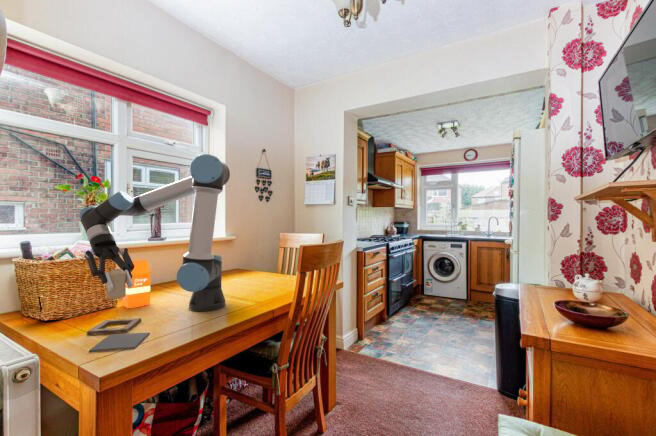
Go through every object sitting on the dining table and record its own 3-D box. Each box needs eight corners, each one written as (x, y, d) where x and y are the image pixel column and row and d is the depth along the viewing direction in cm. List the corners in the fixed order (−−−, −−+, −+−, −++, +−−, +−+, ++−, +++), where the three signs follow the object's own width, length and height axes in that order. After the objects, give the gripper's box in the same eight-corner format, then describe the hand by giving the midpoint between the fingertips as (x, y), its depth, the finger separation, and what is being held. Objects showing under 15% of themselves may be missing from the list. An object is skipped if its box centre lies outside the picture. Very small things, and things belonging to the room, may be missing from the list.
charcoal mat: (149, 334, 102) (149, 332, 102) (134, 348, 90) (134, 346, 90) (109, 336, 100) (109, 334, 100) (88, 352, 88) (89, 350, 88)
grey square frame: (141, 321, 115) (141, 318, 115) (127, 332, 104) (127, 329, 104) (105, 323, 113) (105, 319, 113) (87, 335, 101) (87, 331, 101)
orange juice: (150, 304, 138) (150, 260, 139) (128, 308, 132) (128, 262, 132) (144, 301, 143) (144, 259, 144) (122, 305, 137) (122, 260, 137)
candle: (105, 299, 105) (105, 270, 105) (109, 296, 110) (109, 268, 110) (123, 298, 107) (124, 269, 107) (127, 294, 112) (127, 267, 112)
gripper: (125, 244, 125) (145, 289, 115) (68, 247, 109) (86, 300, 100) (131, 231, 122) (152, 276, 113) (73, 233, 106) (92, 285, 97)
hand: (121, 287), depth 106 cm, fingers closed on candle, 5 cm apart
